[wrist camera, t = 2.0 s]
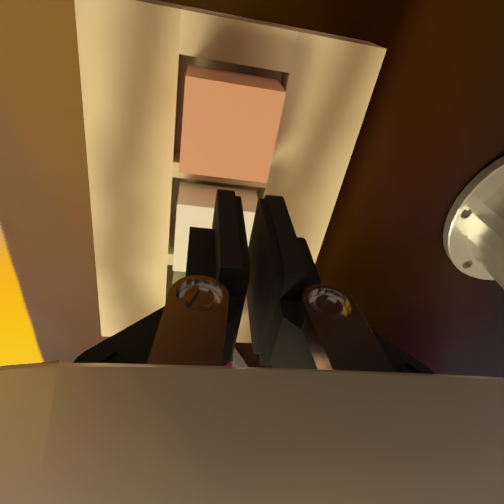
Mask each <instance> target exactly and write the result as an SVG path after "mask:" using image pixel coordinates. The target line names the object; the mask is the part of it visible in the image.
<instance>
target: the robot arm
mask: <svg viewBox="0 0 504 504" xmlns="http://www.w3.org/2000/svg"><path fill="white" fill-rule="evenodd" d="M443 244H444V248H445V251H446V254H447V256H448V257H449V258H450V260H451V261H452V262H453V264H454V265H455V266H456V267H457V268H458V269H459V270H460V271H461V272H463V273H465V274H467V275H469V276H471V277H475V278H478V279H485V280H496V281H497V282H498V283H499V285H500V286H501V287H502V288H503V289H504V156H503V157H501V158H500V159H498V160H496V161H495V162H493V163H492V164H491V165H489V166H488V167H486V168H485V169H484V170H482V171H481V172H480V173H479V174H478V175H477V176H476V177H475V178H474V179H473V180H472V181H471V182H469V183H468V185H467V186H466V187H465V188H464V190H463V191H462V192H461V193H460V194H459V196H458V197H457V199H456V200H455V202H454V204H453V205H452V207H451V209H450V211H449V213H448V216H447V219H446V221H445V225H444V231H443ZM246 297H247V306H248V314H249V323H250V332H251V341H252V350H253V354H259V358H260V366H272V367H274V368H263V367H232V366H226V365H227V364H228V363H229V362H230V358H231V353H234V349H235V344H236V340H237V335H238V330H239V326H240V321H241V317H242V312H243V307H244V303H245V298H246ZM0 504H504V378H497V377H485V376H463V375H445V374H441V373H440V374H435V373H434V372H433V371H432V370H431V369H429V368H428V367H427V366H425V365H424V364H423V363H421V362H420V361H418V360H416V359H415V358H413V357H412V356H410V355H408V354H407V353H405V352H404V351H402V350H401V349H399V348H397V347H396V346H394V345H393V344H391V343H390V342H388V341H386V340H385V339H383V338H382V337H380V336H378V335H377V334H375V333H374V332H372V330H371V328H370V327H369V325H368V323H367V322H366V320H365V318H364V316H363V315H362V313H361V311H360V310H359V308H358V306H357V305H356V303H355V302H354V300H353V299H352V298H351V297H350V296H349V295H348V294H347V293H345V292H344V291H342V290H340V289H338V288H336V287H333V286H330V285H323V284H322V283H321V280H320V277H319V274H318V272H317V269H316V266H315V263H314V261H313V258H312V255H311V252H310V250H309V247H308V244H307V241H306V240H305V238H302V237H297V236H296V233H295V230H294V227H293V224H292V221H291V218H290V215H289V212H288V209H287V206H286V203H285V200H284V198H283V196H275V195H265V197H264V199H261V198H259V199H258V202H257V207H256V212H255V217H254V222H253V226H252V231H251V236H250V241H249V246H248V243H247V236H246V229H245V221H244V214H243V207H242V200H241V196H235V191H231V190H223V189H217V193H216V200H215V208H214V215H213V223H212V229H209V228H199V227H190V230H189V241H188V252H187V263H186V275H185V277H183V278H181V279H179V280H177V281H176V282H175V283H174V284H173V285H172V287H171V288H170V290H169V294H168V297H167V300H166V303H165V306H164V307H162V308H160V309H158V310H157V311H155V312H153V313H151V314H150V315H148V316H146V317H144V318H143V319H141V320H139V321H137V322H136V323H134V324H132V325H130V326H129V327H127V328H125V329H123V330H122V331H120V332H118V333H116V334H115V335H113V336H111V337H109V338H108V339H106V340H104V341H102V342H101V343H99V344H97V345H95V346H94V347H92V348H90V349H88V350H86V351H85V352H84V353H82V354H81V355H80V356H78V357H77V358H76V360H75V361H74V362H73V363H60V362H59V360H54V361H48V362H42V363H32V364H19V365H7V366H0Z"/></svg>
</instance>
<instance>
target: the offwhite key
mask: <svg viewBox="0 0 504 504" xmlns="http://www.w3.org/2000/svg"><path fill="white" fill-rule="evenodd" d="M217 189H223V190H231V191H235V196H241V200H242V207H243V214H244V221H245V229H246V236H247V243H248V246H249V241H250V236H251V231H252V226H253V222H254V217H255V212H256V207H257V202H258V198H257V193H256V191H255V190H246V189H238V188H229V187H220V186H212V185H203V184H195V183H186V182H180V187H179V193H178V200H177V210H176V226H175V241H174V256H173V271H180V272H186V263H187V252H188V241H189V230H190V227H199V228H209V229H212V223H213V215H214V208H215V200H216V193H217Z"/></svg>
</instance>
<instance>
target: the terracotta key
mask: <svg viewBox="0 0 504 504" xmlns="http://www.w3.org/2000/svg"><path fill="white" fill-rule="evenodd" d="M285 95H286V91H285V90H284V88H283V87H282V85H281V84H280V82H279V81H278V79H272V78H266V77H261V76H255V75H249V74H243V73H237V72H231V71H225V70H219V69H213V68H207V67H201V66H196V65H190V64H188V67H187V71H186V75H185V87H184V103H183V118H182V133H181V149H180V164H179V173H188V174H196V175H204V176H212V177H221V178H229V179H237V180H246V181H254V182H262V183H267V181H268V176H269V171H270V166H271V162H272V157H273V152H274V148H275V143H276V138H277V133H278V129H279V124H280V119H281V114H282V110H283V105H284V100H285Z"/></svg>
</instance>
